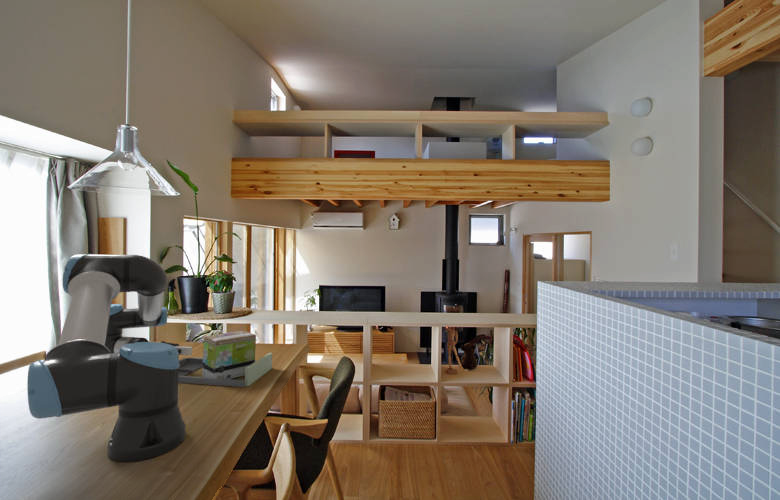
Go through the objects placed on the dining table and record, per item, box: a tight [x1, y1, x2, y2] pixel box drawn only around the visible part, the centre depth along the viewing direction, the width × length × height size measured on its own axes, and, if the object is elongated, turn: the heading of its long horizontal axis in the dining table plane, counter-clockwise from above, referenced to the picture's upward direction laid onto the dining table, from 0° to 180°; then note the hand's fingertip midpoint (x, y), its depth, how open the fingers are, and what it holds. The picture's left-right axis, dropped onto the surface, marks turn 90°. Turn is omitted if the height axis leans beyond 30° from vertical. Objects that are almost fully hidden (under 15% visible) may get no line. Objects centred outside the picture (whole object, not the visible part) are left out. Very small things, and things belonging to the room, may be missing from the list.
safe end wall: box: [244, 352, 273, 387], centre depth 129 cm, size 18×1×6 cm, turn 174°
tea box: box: [201, 330, 257, 379], centre depth 129 cm, size 15×10×15 cm
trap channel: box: [178, 356, 257, 388], centre depth 131 cm, size 20×35×2 cm, turn 84°
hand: (190, 351), depth 132 cm, fingers closed
